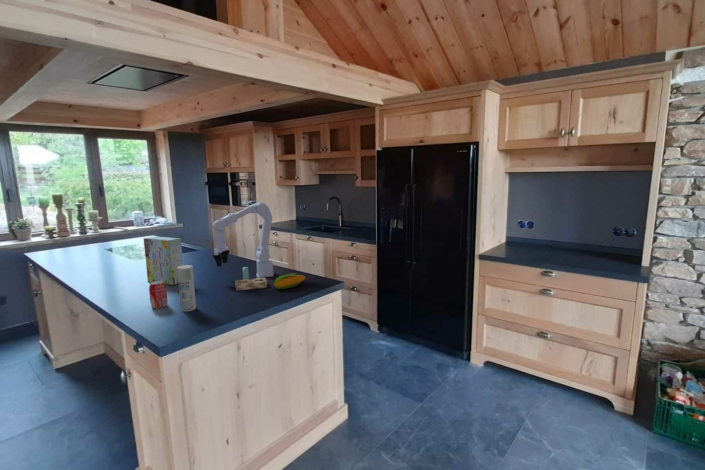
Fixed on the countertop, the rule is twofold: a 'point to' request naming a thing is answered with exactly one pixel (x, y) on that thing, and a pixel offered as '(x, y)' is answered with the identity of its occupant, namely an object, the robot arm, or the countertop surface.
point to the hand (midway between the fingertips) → (222, 264)
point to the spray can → (186, 287)
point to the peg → (245, 273)
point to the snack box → (163, 259)
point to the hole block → (250, 284)
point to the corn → (288, 281)
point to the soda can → (158, 294)
